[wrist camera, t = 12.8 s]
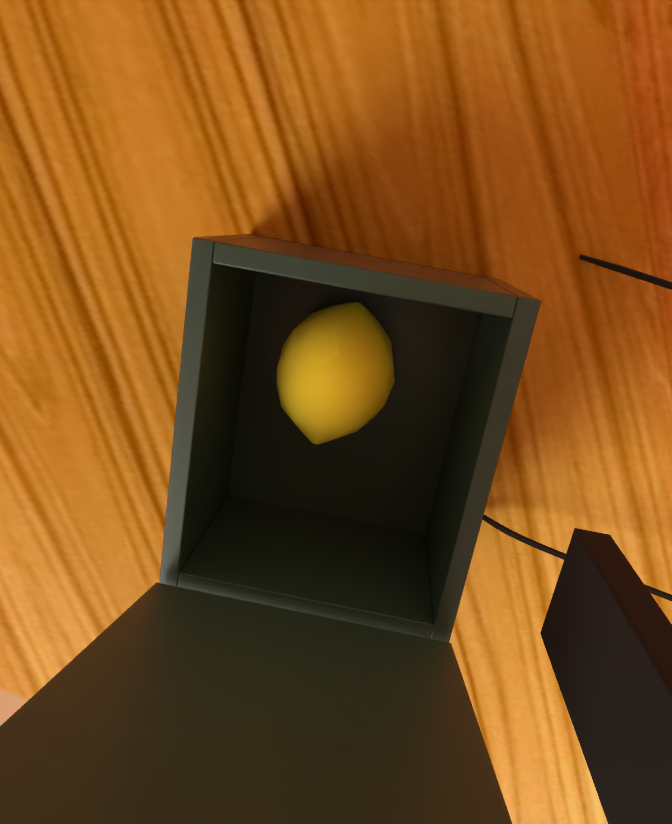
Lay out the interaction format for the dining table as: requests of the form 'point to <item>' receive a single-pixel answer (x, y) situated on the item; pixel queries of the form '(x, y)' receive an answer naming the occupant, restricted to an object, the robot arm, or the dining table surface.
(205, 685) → the lid
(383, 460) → the chest
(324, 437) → the lemon
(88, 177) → the dining table surface
